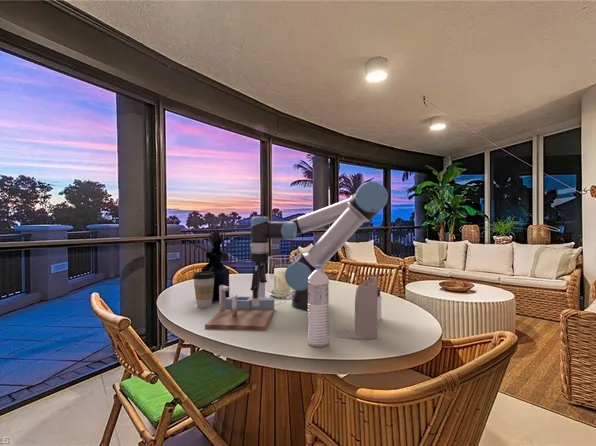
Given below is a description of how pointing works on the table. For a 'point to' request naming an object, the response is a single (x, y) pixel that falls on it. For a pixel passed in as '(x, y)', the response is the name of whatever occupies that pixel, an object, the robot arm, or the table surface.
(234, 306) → the pintle
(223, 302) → the bracket
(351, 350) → the table surface
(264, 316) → the board
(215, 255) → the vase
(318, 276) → the water bottle
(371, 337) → the metal bookend
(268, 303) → the link
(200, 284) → the coffee cup
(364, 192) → the robot arm
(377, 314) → the jar
